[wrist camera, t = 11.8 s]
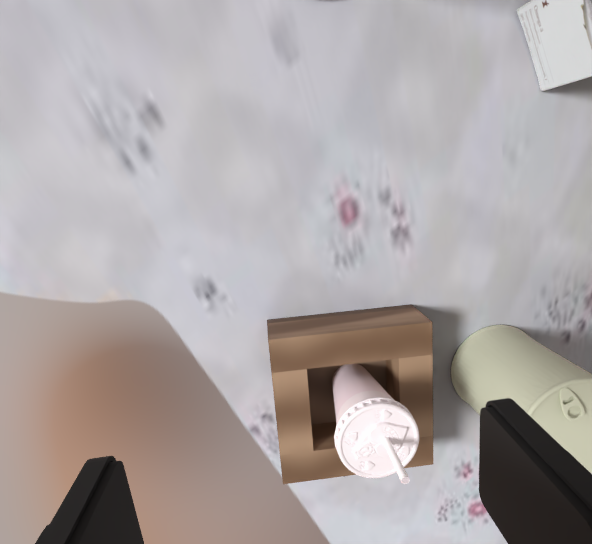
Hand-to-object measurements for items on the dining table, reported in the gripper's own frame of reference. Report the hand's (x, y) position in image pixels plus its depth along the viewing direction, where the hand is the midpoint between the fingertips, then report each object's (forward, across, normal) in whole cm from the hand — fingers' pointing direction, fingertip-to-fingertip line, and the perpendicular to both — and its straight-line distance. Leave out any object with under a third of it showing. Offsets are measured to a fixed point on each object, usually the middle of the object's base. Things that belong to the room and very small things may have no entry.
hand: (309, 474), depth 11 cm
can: (+28, -21, +15) cm, 38 cm away
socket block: (+28, -5, +14) cm, 32 cm away
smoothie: (+27, -6, +14) cm, 31 cm away
